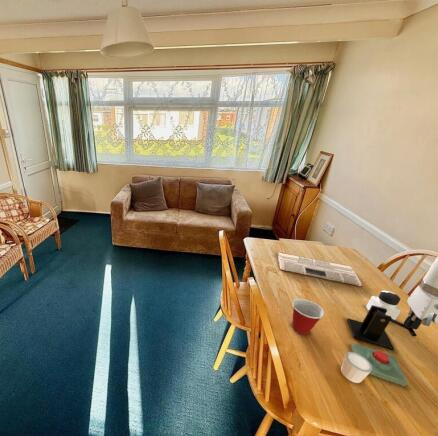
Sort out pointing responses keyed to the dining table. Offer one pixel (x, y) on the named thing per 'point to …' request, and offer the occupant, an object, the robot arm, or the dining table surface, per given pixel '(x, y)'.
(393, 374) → the button box
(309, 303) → the plastic cup
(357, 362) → the white cup
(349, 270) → the newspaper
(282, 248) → the dining table surface
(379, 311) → the lever
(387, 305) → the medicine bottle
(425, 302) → the robot arm
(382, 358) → the button
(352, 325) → the bracket
